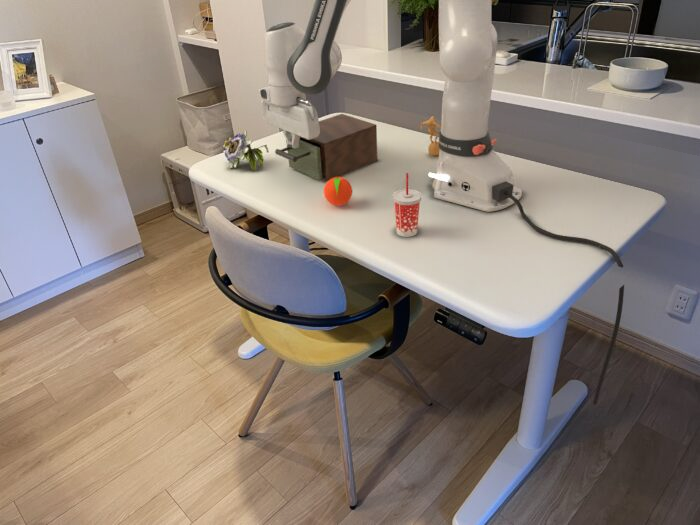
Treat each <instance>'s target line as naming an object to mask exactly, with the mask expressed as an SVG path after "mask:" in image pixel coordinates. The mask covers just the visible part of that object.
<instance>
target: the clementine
mask: <svg viewBox="0 0 700 525" xmlns="http://www.w3.org/2000/svg"><path fill="white" fill-rule="evenodd" d="M323 194H324V198H325V200H326V201H327V202H328V203H329V204H331V205H333V206H337V207H338V206H344V205H346V204H347V203H348V202H349V201H350V200H351V198H352V196H353V187H352V184H351V183H350V181H348V180H347V178H345V177H343V176H339V177H334V178H332V179H330V180H329V181H326V183H325V185H324V188H323Z"/></svg>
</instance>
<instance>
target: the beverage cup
mask: <svg viewBox="0 0 700 525" xmlns="http://www.w3.org/2000/svg"><path fill="white" fill-rule="evenodd" d="M405 174H406V175H405V176H406V177H405V188H404V189H399V190H396V191H394V193H392V200H393V202H394V215H395V216H394V217H395V229H396V234H397V235H398V236H400V237H405V238H411V237H413V236H416V235H417V234H418V226H419V217H420V216H419V215H420V214H419V213H420V204H421V201H422V193H421V192H420V191H419V190H416V189H410V188H409V173H408V172H406V173H405Z"/></svg>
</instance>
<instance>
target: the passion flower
mask: <svg viewBox="0 0 700 525" xmlns="http://www.w3.org/2000/svg"><path fill="white" fill-rule="evenodd" d="M247 136H248V131H247V130H246V129H245V130H243V131H242V133H237V134H236V135H234V136H231V137H230V136H228V137H227V138H226V140H225V141H224V144H222V147H223V150H222V151H223V152H222V153H223V154H224V156H225V158H226V160H227V161H228V164H230V167H229V169H234V168H235V169H236V168H238V167H239V165H240V162H241V161H243V160H244V159H246V161H248V163H249V166H250V168H251V170H252V171H255V172H256V171H257V162H258V163H259V166H260V167H262V166H263V164H264V156H263V154H264V153H263V151H262V150H261V149H260V148H263V147H264V149H265V150H266V153H267V154H269V148H268V145H267V144H264V145H261V146H258V147H254V148H252V143H253V139H252V138H248V139H246V138H247ZM240 160H241V161H240Z"/></svg>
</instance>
